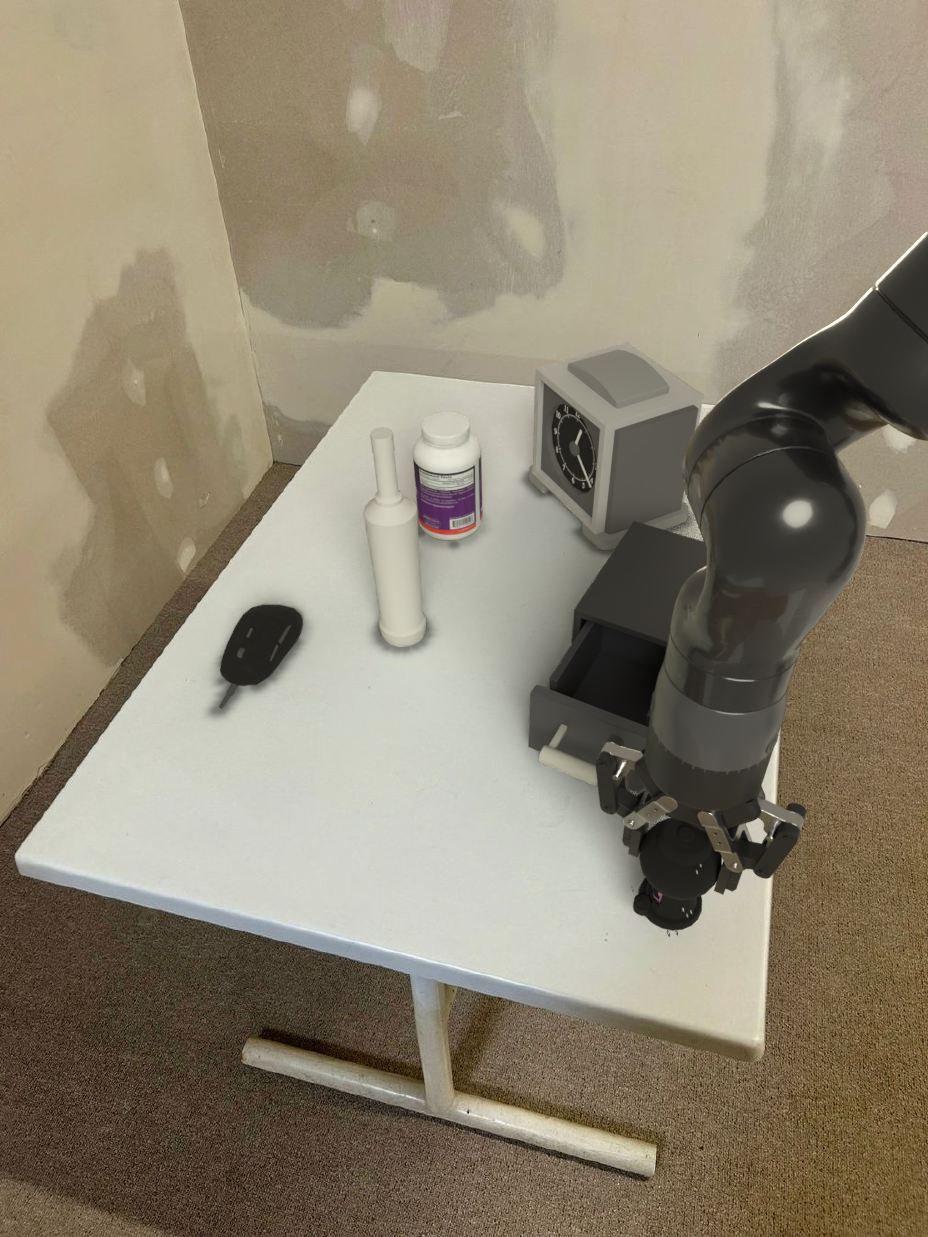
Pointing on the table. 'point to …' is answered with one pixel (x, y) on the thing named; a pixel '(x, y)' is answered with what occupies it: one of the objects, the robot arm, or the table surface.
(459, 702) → the table surface
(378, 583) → the bottle
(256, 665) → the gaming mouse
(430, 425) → the pill bottle
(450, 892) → the table surface
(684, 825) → the gumball machine
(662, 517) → the alarm clock
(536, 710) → the open grey drawer
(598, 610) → the grey drawer cabinet
